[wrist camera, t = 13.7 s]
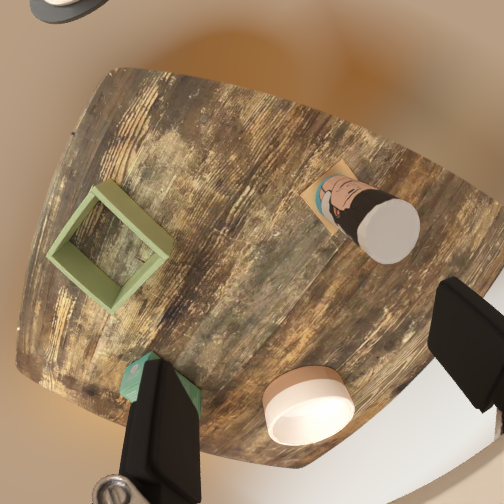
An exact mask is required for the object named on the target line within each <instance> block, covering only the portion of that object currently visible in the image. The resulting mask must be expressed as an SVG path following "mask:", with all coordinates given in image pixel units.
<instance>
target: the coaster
mask: <svg viewBox="0 0 504 504" xmlns="http://www.w3.org/2000/svg"><path fill="white" fill-rule="evenodd" d="M336 174H337V175H345V176H347V177H350V178H352V179H355V180H357V178H356V177H355V175H354V174H353V173H352V171H351V170H350V168H349V167H348V166H347V164H346V163H345V161H344V160H343V159H340V160H339V161H338V162H337V163H336V164H335V165H333V166H332V167H331V168H330V169H329V170H328V171H327V172H325V173H324V174H323V175H322V176H321V177H320V178H318V179H317V180H316V181H315V182H314V183H313V184H312V185H310V186H309V187H308V188H307V189H306V190H305V191H304V192H302V193H301V194H300V196H301V197H302V198H303V200H304V201H305V202H306V203H307V204H308V206H309V207H310V208H311V209H312V211H313V212H314V213H315V214H316V215H317V217H318V218H319V219H320V220H321V222H322V223H323V224H324V225H325V227H326V228H327V229H328V230H329V232H330V233H331V234H332V235H334V234H335V233H336V232H337V231H338V230H339V229H338V228H337V227H336V226H335V225H334V224H332V223H331V222H330V221H329V220H328V219H326V218H325V217H324V216H323V215H322V214H320V212H319V210H318V208H317V205H316V201H315V200H316V192H317V190H318V187H319V185H320V184H321V183H322V182H323V180H325V179H326V178H328V177H329V176H333V175H336ZM357 181H358V180H357Z"/></svg>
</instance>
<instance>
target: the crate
mask: <svg viewBox="0 0 504 504" xmlns="http://www.w3.org/2000/svg"><path fill="white" fill-rule="evenodd" d="M99 200H101V201H102V202H103V203H104V204H105V205H106V206H107V207H108V208H109V209H110V210H111V211H112V212H113V213H114V214H115V215H116V216H117V217H118V218H119V219H120V220H121V221H122V222H123V223H124V224H125V225H126V226H127V227H129V228H130V229H131V230H132V231H133V232H134V233H135V234H136V235H137V236H138V237H139V238H140V239H141V240H142V241H144V242H145V243H146V244H147V245H148V246H149V247H150V248H151V249H152V250H153V251H155V253H154V254H153V255H152V256H151V257H150V258H149V259H148V260H147V261H146V262H145V263H144V264H143V265H142V266H141V267H140V268H139V269H138V271H137V272H136V273H135V274H134V275H133V276H132V277H131V278H130V279H129V280H128V281H127V282H126V283H125V285H124V286H123V287H122V288H121V287H120V286H119V285H117V284H116V283H115V282H114V281H113V280H112V279H111V278H109V277H108V276H107V275H106V274H105V273H104V272H103V271H102V270H100V269H99V268H98V267H97V266H96V265H95V264H94V263H93V262H92V261H91V260H89V259H88V258H87V257H86V256H85V255H84V254H83V253H82V252H81V251H80V250H79V249H78V248H77V247H76V246H75V245H74V244H73V243H71V242H70V241H69V240H70V238H71V237H72V236H73V234H74V233H75V231H76V230H77V229H78V227H79V226H80V225H81V223H82V222H83V221H84V219H85V218H86V217H87V215H88V214H89V213H90V211H91V210H92V209H93V207H94V206H95V205H96V204H97V202H98V201H99ZM174 241H175V239H173V238H172V237H171V236H170V235H169V234H168V233H167V232H166V231H165V230H164V229H163V228H162V227H161V226H160V225H158V224H157V223H156V222H155V221H154V220H153V219H152V218H151V217H150V216H149V215H148V214H147V213H146V212H145V211H144V210H143V209H142V208H141V207H140V206H139V205H138V204H136V203H135V202H134V201H133V200H132V199H131V198H130V197H129V196H128V195H127V194H126V193H125V192H124V191H123V190H122V189H121V188H120V187H119V186H118V185H117V184H116V183H115V182H114V181H113V180H112V179H111V178H110V179H108V180H106V181H104V182H102V183H100V184H98V185H96V186H94V187H93V189H92V190H91V191H90V193H89V194H88V195H87V196H86V198H85V199H84V200H83V202H82V203H81V204H80V206H79V207H78V209H77V210H76V211H75V213H74V214H73V215H72V217H71V218H70V220H69V221H68V223H67V224H66V225H65V227H64V228H63V230H62V231H61V233H60V234H59V236H58V237H57V239H56V240H55V242H54V243H53V245H52V247H51V248H50V250H49V251H48V253H47V255H46V257H47V258H48V259H49V260H50V261H51V262H52V263H53V264H54V265H55V266H56V267H57V268H58V269H60V270H61V271H62V272H63V273H64V274H65V275H66V276H67V277H68V278H69V279H70V280H71V281H72V282H74V283H75V284H76V285H77V286H78V287H79V288H80V289H81V290H82V291H84V292H85V293H86V294H87V295H88V296H89V297H91V298H92V299H93V300H94V301H95V302H96V303H98V304H99V305H100V306H101V307H102V308H104V309H105V310H106V311H107V312H108V313H110V314H111V315H112V316H113V315H114V314H115V312H116V311H117V310H118V309H119V308H120V307H121V306H122V305H123V304H124V303H125V302H126V301H127V300H128V299H129V298H130V297H131V296H132V295H133V294H134V293H135V292H136V291H137V289H138V288H139V287H140V286H141V285H142V284H143V283H144V282H145V281H146V280H147V279H148V278H149V277H150V276H151V275H152V274H153V273H154V272H155V271H156V270H157V269H158V268H159V267H160V266H161V265H162V264H163V263H164V262H165V261H166V260H167V259H168V258H169V256H170V253H171V250H172V247H173V244H174Z"/></svg>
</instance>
